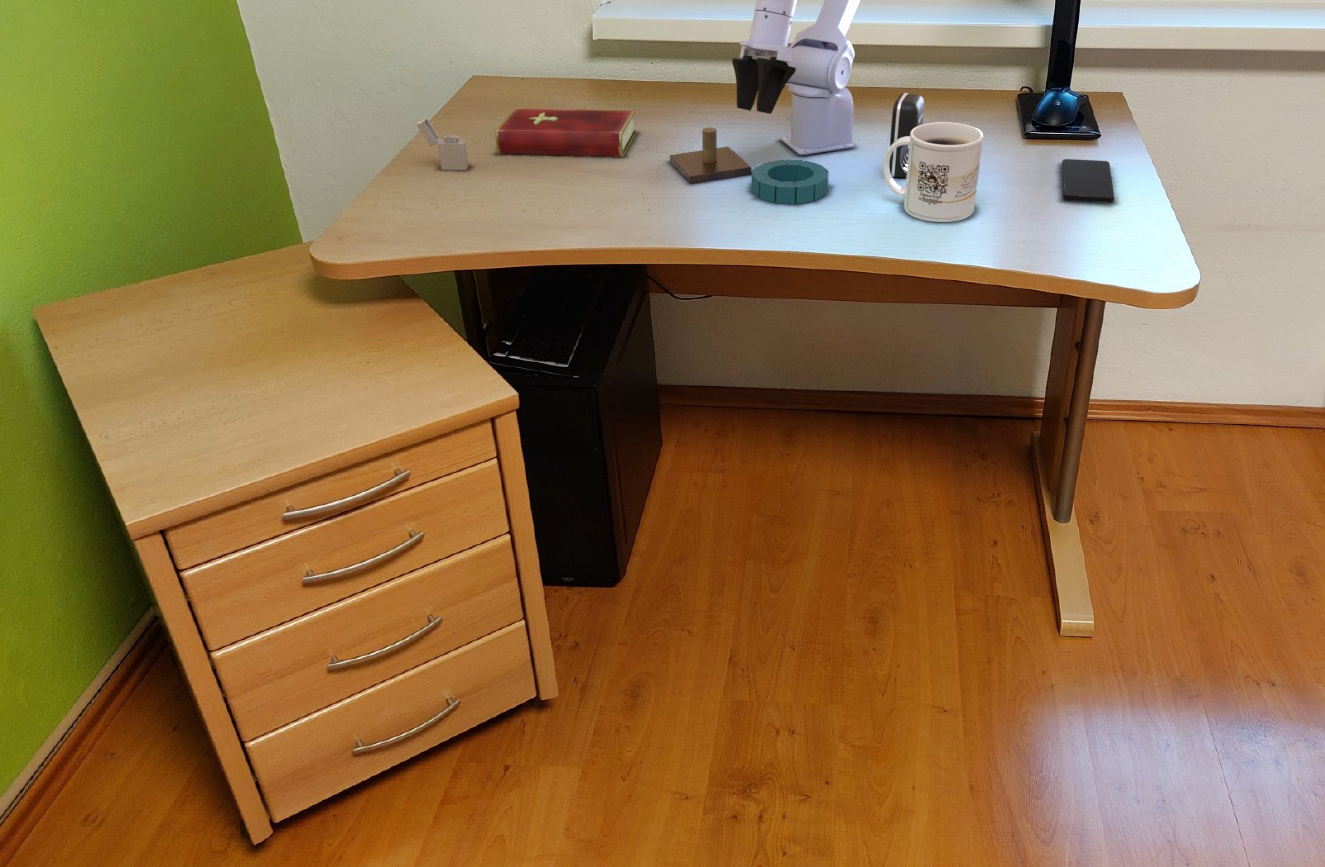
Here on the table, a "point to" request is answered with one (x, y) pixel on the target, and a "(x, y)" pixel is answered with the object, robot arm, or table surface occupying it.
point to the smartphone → (1087, 180)
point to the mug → (939, 171)
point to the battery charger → (904, 129)
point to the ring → (775, 188)
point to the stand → (710, 161)
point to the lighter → (446, 147)
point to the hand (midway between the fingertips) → (753, 111)
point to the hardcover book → (566, 132)
